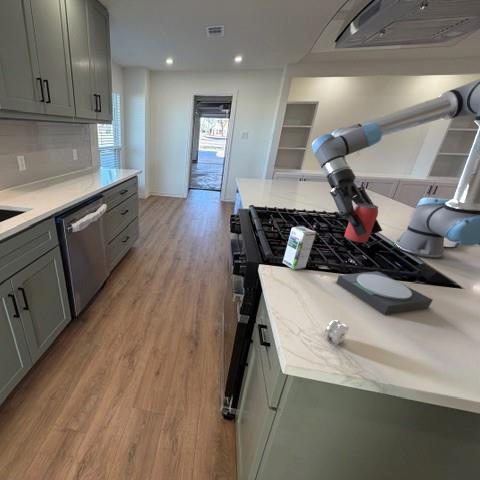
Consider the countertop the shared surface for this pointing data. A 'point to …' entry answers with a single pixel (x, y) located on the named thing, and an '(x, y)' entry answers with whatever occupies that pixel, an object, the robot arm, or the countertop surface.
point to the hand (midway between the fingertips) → (369, 233)
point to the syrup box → (299, 247)
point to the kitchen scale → (383, 292)
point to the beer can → (363, 221)
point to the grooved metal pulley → (336, 331)
